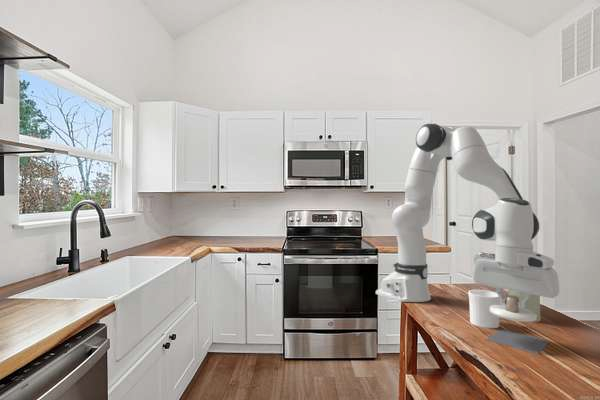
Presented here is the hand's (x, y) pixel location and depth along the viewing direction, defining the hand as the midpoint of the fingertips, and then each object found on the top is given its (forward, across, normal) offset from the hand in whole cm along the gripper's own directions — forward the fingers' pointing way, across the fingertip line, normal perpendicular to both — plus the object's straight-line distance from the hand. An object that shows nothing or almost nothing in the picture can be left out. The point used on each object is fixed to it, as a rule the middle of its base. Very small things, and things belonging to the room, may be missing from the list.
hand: (512, 306), depth 92 cm
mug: (+11, -11, +8) cm, 17 cm away
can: (+10, -4, +27) cm, 29 cm away
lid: (+2, 0, 0) cm, 2 cm away
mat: (+10, +1, +1) cm, 10 cm away
